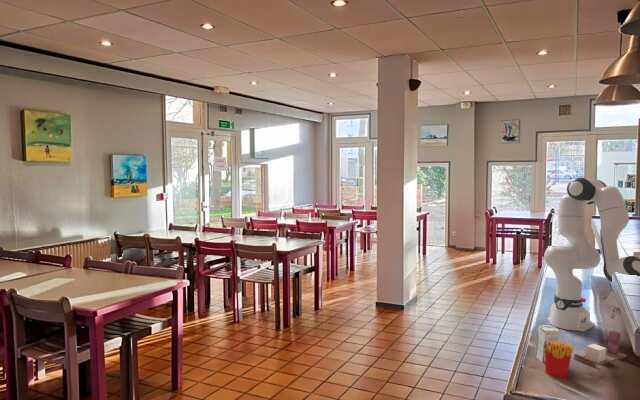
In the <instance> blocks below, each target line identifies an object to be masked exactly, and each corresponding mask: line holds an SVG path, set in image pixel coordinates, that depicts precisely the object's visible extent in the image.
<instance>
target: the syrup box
mask: <svg viewBox="0 0 640 400" xmlns="http://www.w3.org/2000/svg"><path fill="white" fill-rule="evenodd" d="M536 340H537V341H536V349H535V350H536V351H535V358H537V360H539V361H540V362H541V363H543V364H544V363H545V364H546V362H545V350H546V349H547V347H546V342H548V345H550V342H554V343H555V342H557V343H559V340H560V330H559V328H558V327H555V326H553V325H538V329H537V339H536Z"/></svg>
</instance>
